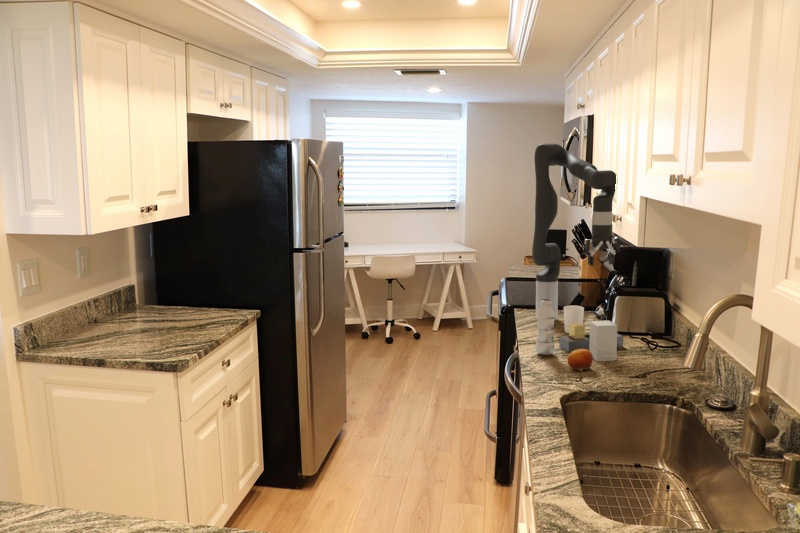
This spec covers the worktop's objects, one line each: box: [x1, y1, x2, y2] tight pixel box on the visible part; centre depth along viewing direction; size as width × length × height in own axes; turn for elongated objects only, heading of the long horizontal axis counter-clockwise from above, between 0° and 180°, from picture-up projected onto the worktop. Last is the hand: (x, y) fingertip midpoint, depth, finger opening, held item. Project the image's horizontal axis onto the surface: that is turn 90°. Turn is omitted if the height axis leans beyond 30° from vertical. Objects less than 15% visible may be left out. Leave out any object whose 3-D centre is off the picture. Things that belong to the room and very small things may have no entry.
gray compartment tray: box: [559, 333, 624, 353], centre depth 236 cm, size 7×22×4 cm, turn 103°
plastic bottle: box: [535, 299, 556, 356], centre depth 228 cm, size 6×7×20 cm
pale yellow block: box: [568, 323, 586, 340], centre depth 234 cm, size 4×4×8 cm
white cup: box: [563, 304, 585, 334], centre depth 257 cm, size 8×8×10 cm
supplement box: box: [589, 320, 618, 362], centre depth 222 cm, size 7×7×13 cm
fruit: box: [567, 349, 593, 372], centre depth 212 cm, size 8×8×8 cm
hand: (601, 264), depth 247 cm, fingers open, 8 cm apart
